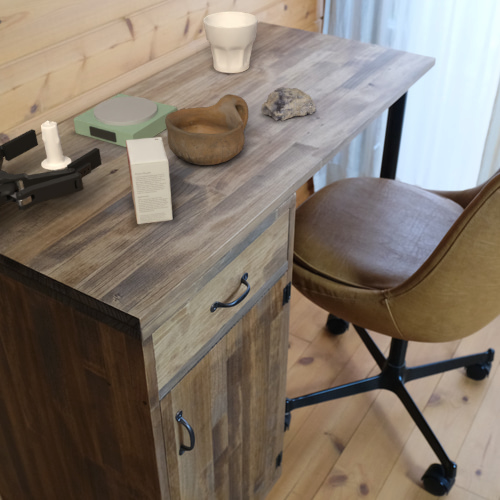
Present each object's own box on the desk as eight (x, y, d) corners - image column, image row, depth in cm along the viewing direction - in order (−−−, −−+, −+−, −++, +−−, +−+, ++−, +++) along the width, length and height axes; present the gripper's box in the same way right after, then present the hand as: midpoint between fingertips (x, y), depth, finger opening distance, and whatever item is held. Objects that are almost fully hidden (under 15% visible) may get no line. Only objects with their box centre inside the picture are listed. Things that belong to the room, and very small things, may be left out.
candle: (41, 184, 108) (26, 117, 101) (73, 177, 110) (60, 111, 103) (49, 199, 104) (34, 131, 97) (81, 191, 106) (69, 123, 99)
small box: (132, 198, 104) (124, 139, 98) (167, 194, 105) (161, 135, 99) (136, 225, 98) (129, 163, 92) (173, 221, 99) (168, 159, 93)
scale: (74, 133, 123) (71, 115, 121) (121, 107, 133) (119, 89, 131) (133, 150, 118) (131, 131, 115) (177, 121, 128) (176, 103, 126)
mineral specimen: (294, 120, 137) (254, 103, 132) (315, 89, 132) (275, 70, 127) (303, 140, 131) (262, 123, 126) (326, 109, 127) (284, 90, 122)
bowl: (191, 118, 125) (202, 72, 119) (256, 148, 124) (270, 103, 117) (146, 157, 112) (156, 107, 105) (218, 192, 110) (232, 143, 104)
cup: (194, 70, 150) (192, 22, 144) (222, 54, 159) (221, 8, 152) (241, 80, 145) (240, 30, 139) (267, 63, 154) (268, 16, 147)
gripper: (-91, 206, 97) (15, 149, 112) (31, 255, 87) (129, 185, 102) (-108, 162, 92) (5, 109, 107) (19, 207, 83) (124, 142, 97)
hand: (66, 146), depth 105 cm, fingers open, 13 cm apart
